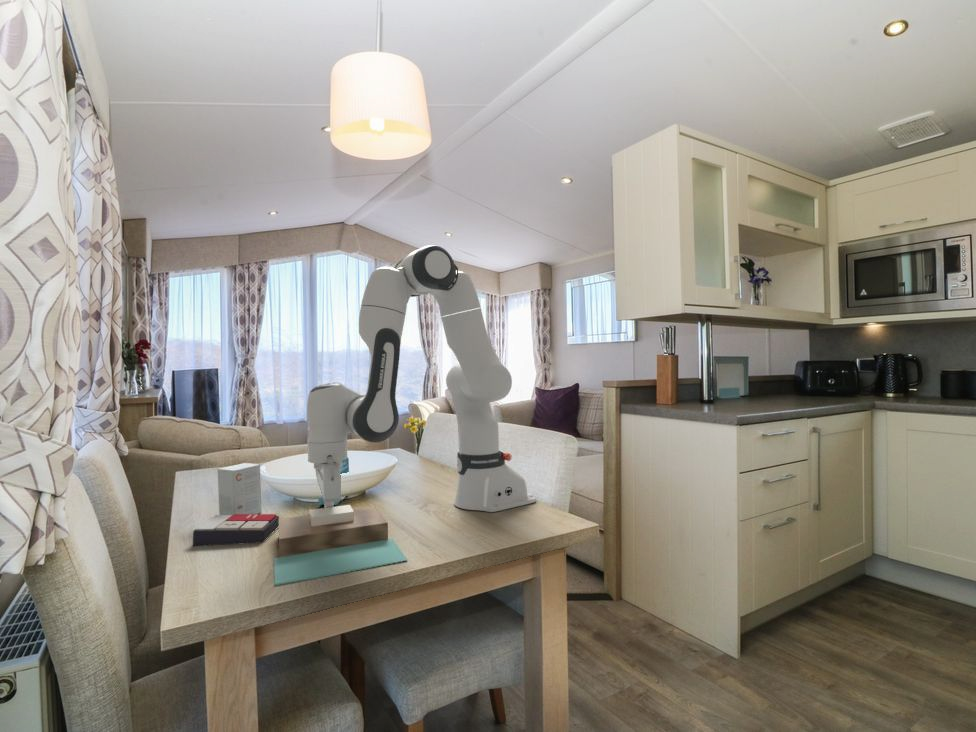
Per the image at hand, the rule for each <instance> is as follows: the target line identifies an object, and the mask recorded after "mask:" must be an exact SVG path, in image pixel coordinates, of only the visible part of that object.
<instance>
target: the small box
mask: <svg viewBox="0 0 976 732" xmlns="http://www.w3.org/2000/svg"><path fill="white" fill-rule="evenodd" d="M261 483H262V482H261V465H260V464H258V463H249V462H243V463H239V464H234V465H229V466H225V467H220V468H217V485H218V487H217V488H218V490H217V493H218V513H219V514H218V515H232V516H233V515H234V514H262V487H261V486H262V485H261Z"/></svg>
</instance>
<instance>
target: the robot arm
mask: <svg viewBox="0 0 976 732" xmlns="http://www.w3.org/2000/svg"><path fill="white" fill-rule="evenodd" d="M428 294H431V296H432V297H434V299H435V301H436V303H437V305H438V308H439V313H440V317H441V322H442V326H443V330H444V335H445V338H446V343H447V346H448V348H449V349H451V351H452V352H453V354H454V356H455V357H456V360H457V363H458V364H456V365H454V366H453V367H451V368H450V369H449V371H448V373H447V374H446V378H445V383H446V387H447V389H448V391H449V393H450V395H451V397H452V398H451V399H452V402H453V407H454V411H455V412H454V413H455V416H456V422H457V431H458V432H457V433H458V434H457V437H458V452H457V455H456V456H457V457H456V458H457V459H456V467H457V473H458V477H457V486H456V487H457V488H456V493H455V498H454V502H453V505H454V506H455V507H457V508H460V509H463V510H469V511H483V512H489V513H495V512H500V511H505V510H509V509H512V508H516V507H517V508H518V507H521V506H525V505H530V504H533V503H535V502H536V497H535V495H534V494H533V493H531V492H529V491H528V488H527V483H526V481H525V478H524V477H523V476H522V475H521V474H520V473H518V472H517V471H515V470H514V469H513V468H511V467H510V466H508V464H506V461H507V462H510V461H511V460H512V459H513V456H512V454H511V453H508V452H503V451H501V450H500V445H499V443H500V441H499V423H498V420H497V419H496V417H495V415H494V413H493V410H492V405H491V403H494V402H497V401H500V400H503V399H505V398H506V397H507V396H508V395H509V394H510V392H511V389H512V384H513V380H512V379H513V378H512V376H511V373H510V371H509V369H508V368H507V367H506V366H505V365H504V364H503V363H502V362H501V361H500V358H499V357H498V355H497V353H496V351H495V349H494V347H493V345H492V342H491V341H490V338H489V334H488V332H487V328H486V324H485V319H484V316H483V311H482V308H481V307H482V306H481V303H480V300H479V297H478V296H479V295H478V292H477V290H476V287H475V286H474V282H473V280H472V278H471V276H470V275H469V274H467V273H466V272H465V271H460V270H459V267H458V266H457V265H456V263H455V262H454V259H453V257H452V256H451V255H450V253H449V252H448V251H447V250H446V249H445V248H443V247H442V246H439V245H433V244H432V245H425V246H422V247H420V248H419V249H415V250H413V251H411V252H410V253H409V254H408V255H406V257H405V258H403V259H401V260H400V261H399V262H398V263H396V265H395V266H394V267H390V266H381V267H379V268H376V269H374V270H372V273H371V274H370V276H369V278H368V281H367V283H366V286H365V289H364V293H363V296H362V300H361V304H360V309H359V316H358V334H359V337H360V338H361V340H362V341H363V342H364V344H366V346H367V348H368V350H369V355H370V365H369V373H368V380H367V381H368V382H367V389H366V393H365V394H364V393H360V392H357V391H355V390H353V389H351V388H349V387H347V386H345V385H344V384H343V383H341V382H329V383H325V384H324V383H323V384H320V385H317V386H316V385H315V386H314V387H313V388H312V389H311V390H310V391H309V393H308V396H307V404H306V423H307V426H308V436H307V462H309V463H311V464H313V469H315V476H316V480H317V481H316V482H317V484H318V485H319V487H320V490H321V493H322V496H323V499H324V508H329V507H335V506H334V501H339V500H341V475H340V467H341V466H342V461H343V460H346V459H347V457H348V436H349V435H350V434H356V436H359V437H361V438H362V439H363V440H364V441H366V442H369V443H380V442H381V443H382V442H384V441H386V440H387V439H390V437H392V436H393V434H394V433H395V431H396V430H397V428H398V426H399V425H398V424H399V419H400V416H399V410H398V406H397V400H396V390H397V381H398V372H399V365H400V353H401V344H402V342H401V341H402V336H403V331H404V324H405V319H406V314H407V307H408V303H409V302H410V301H409V300H410V298H414V297H419V296H423V295H428ZM318 485H317V486H318Z"/></svg>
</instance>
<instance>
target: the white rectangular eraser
mask: <svg viewBox="0 0 976 732" xmlns="http://www.w3.org/2000/svg"><path fill="white" fill-rule="evenodd" d="M353 509H354V508H352V506H351V504H344V505H338V506H337V505H336V506H334V507H329V508H325V507H324V508H316V509H309V511H308V512H309V514H308V515H309V516H310V523H311V527H313V526H320V525H327V524H333V523H340V522H347V521H354V511H353Z"/></svg>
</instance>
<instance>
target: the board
mask: <svg viewBox="0 0 976 732" xmlns="http://www.w3.org/2000/svg"><path fill="white" fill-rule="evenodd" d="M352 509H353V511H354V521H347V522H340V523H333V524H327V525H320V526H313V527H311V523H310V516H309V514H306V515H301V516H294V517H287V518H279V519H278V520H279V527H278V547H279V550H278V551H279V557H284V556H290V555H296V554H302V553H308V552H314V551H321V550H327V549H333V548H339V547H345V546H351V545H357V544H363V543H369V542H375V541H381V540H387V539H389V525H388V524H389V523H388V520H387V519H386V518H385V517H384V515H383V514H382V513H381V512H380V510H379V508H378V507H377V506H376V505H375V506H373V505H372V506H367V507H366V506H365V507H360V508H352Z"/></svg>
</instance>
